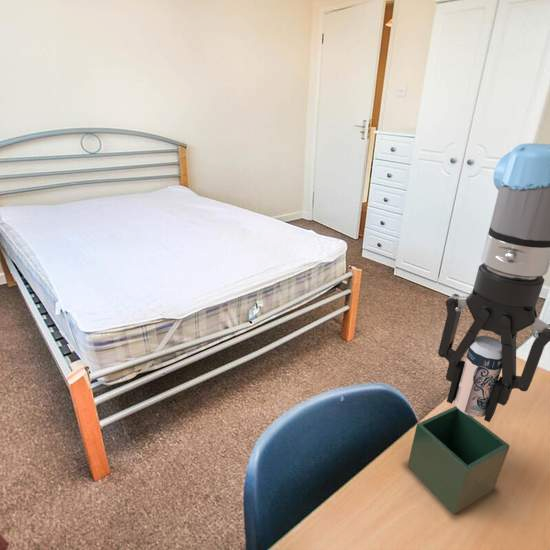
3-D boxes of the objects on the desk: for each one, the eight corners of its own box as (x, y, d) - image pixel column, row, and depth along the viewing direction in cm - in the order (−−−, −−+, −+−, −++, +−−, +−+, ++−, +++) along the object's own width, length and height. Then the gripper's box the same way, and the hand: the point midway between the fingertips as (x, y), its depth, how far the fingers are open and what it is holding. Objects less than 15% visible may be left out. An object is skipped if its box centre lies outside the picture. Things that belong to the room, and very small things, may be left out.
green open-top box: (445, 448, 72) (457, 405, 67) (492, 491, 64) (510, 445, 60) (406, 468, 68) (417, 423, 63) (452, 517, 60) (468, 469, 55)
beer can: (471, 423, 56) (492, 356, 51) (446, 401, 60) (463, 337, 55) (494, 414, 58) (516, 348, 53) (468, 394, 62) (486, 331, 57)
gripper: (432, 258, 53) (405, 391, 62) (594, 301, 42) (530, 455, 51) (452, 245, 58) (424, 370, 67) (600, 281, 47) (541, 424, 56)
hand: (470, 406), depth 59 cm, fingers closed on beer can, 5 cm apart
